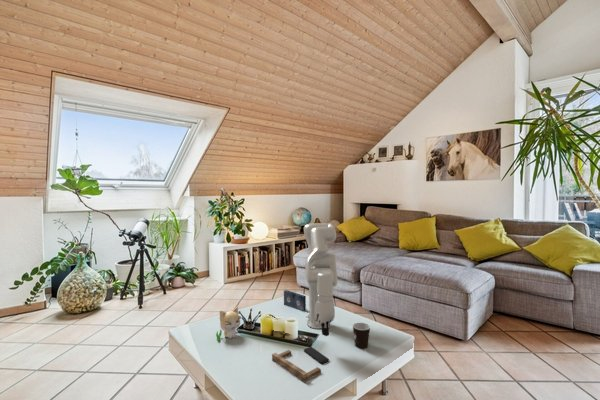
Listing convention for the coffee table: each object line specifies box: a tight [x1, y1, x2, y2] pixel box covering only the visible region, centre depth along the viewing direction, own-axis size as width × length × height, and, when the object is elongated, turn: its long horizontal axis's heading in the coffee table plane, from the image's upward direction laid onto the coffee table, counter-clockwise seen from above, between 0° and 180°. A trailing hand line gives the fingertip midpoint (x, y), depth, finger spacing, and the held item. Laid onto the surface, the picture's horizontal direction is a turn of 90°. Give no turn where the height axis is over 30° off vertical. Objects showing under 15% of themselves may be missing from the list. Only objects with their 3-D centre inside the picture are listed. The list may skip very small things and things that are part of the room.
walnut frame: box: [271, 349, 322, 383], centre depth 139 cm, size 22×10×3 cm, turn 42°
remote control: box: [303, 346, 330, 365], centre depth 148 cm, size 5×2×15 cm
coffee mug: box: [352, 322, 371, 350], centre depth 159 cm, size 12×9×10 cm
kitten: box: [215, 306, 241, 341], centre depth 168 cm, size 15×10×15 cm
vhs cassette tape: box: [283, 289, 307, 312], centre depth 209 cm, size 18×3×10 cm, turn 46°
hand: (325, 334), depth 151 cm, fingers closed
